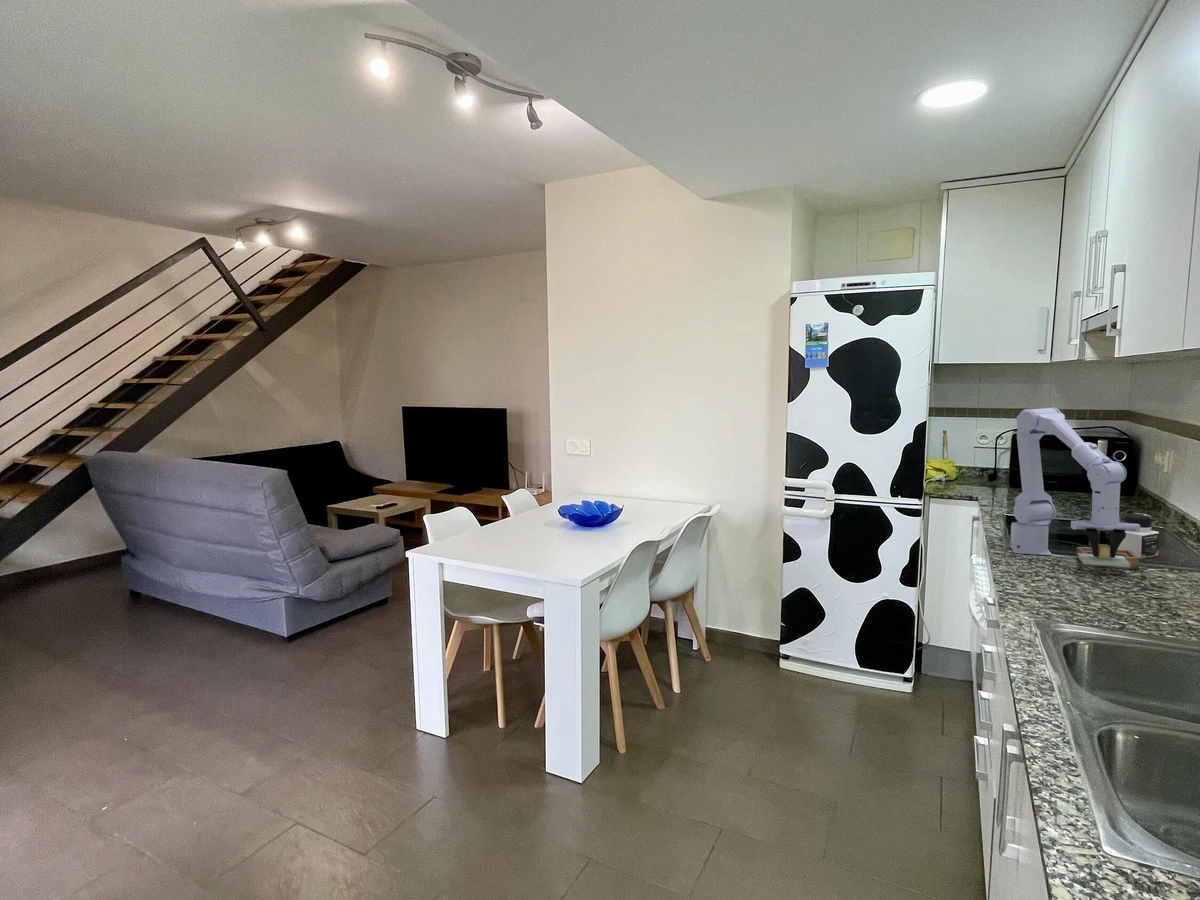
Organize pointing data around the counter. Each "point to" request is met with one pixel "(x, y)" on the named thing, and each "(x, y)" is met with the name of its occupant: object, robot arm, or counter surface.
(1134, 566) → the box
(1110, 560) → the lid
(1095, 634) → the counter surface
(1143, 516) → the medicine bottle
